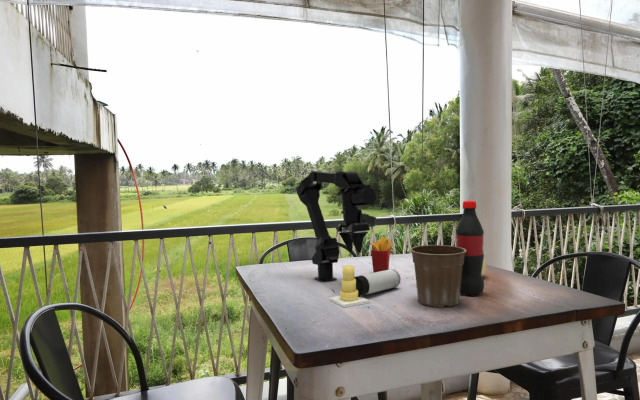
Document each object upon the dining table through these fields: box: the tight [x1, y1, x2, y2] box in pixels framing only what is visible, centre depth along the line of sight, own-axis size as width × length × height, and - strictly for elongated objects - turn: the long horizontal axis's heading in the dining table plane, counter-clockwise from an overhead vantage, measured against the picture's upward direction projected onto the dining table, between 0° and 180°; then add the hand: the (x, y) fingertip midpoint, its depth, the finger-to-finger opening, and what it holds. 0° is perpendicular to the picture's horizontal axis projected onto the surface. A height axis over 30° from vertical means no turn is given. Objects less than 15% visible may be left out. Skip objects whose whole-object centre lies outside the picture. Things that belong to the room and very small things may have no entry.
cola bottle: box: [455, 200, 485, 297], centre depth 134 cm, size 8×8×30 cm
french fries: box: [370, 236, 394, 273], centre depth 166 cm, size 9×8×15 cm
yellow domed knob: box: [339, 265, 358, 301], centre depth 129 cm, size 6×6×10 cm
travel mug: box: [355, 268, 401, 297], centre depth 138 cm, size 6×7×20 cm
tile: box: [328, 295, 370, 308], centre depth 129 cm, size 9×9×1 cm
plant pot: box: [410, 244, 466, 308], centre depth 126 cm, size 16×16×16 cm
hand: (354, 252), depth 145 cm, fingers open, 9 cm apart
